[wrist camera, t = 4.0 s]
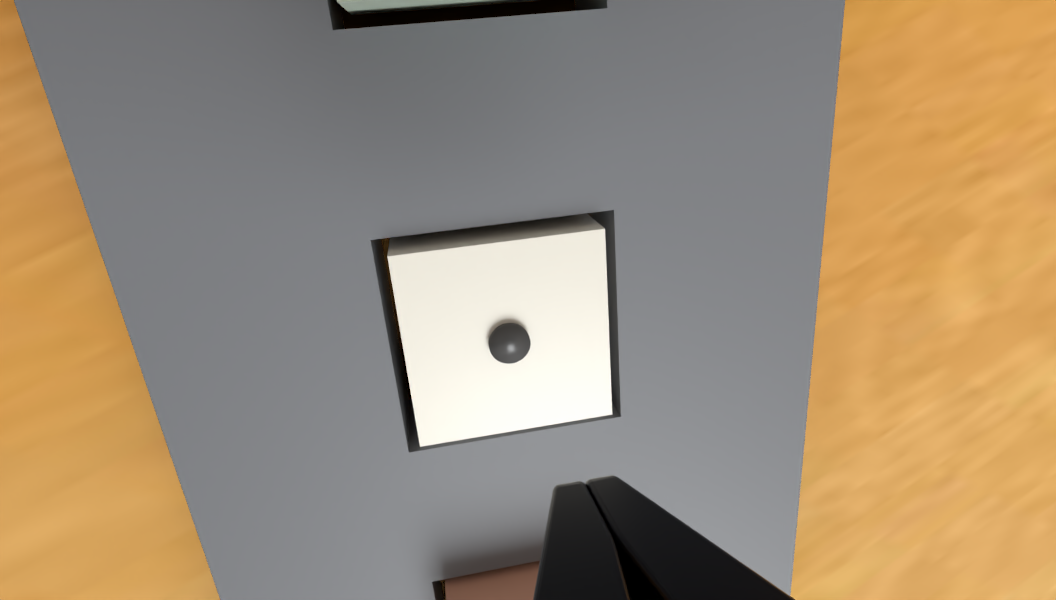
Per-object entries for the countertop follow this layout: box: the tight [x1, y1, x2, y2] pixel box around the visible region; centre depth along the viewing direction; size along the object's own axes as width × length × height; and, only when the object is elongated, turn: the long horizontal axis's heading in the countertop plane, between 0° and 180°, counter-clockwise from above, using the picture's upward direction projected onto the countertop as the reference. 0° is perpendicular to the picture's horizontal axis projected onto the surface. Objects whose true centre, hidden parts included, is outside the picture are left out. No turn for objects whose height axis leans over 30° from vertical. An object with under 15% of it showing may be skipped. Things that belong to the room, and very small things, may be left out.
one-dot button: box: [387, 213, 612, 447], centre depth 15 cm, size 4×4×3 cm
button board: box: [14, 0, 845, 600], centre depth 15 cm, size 15×25×2 cm, turn 5°
